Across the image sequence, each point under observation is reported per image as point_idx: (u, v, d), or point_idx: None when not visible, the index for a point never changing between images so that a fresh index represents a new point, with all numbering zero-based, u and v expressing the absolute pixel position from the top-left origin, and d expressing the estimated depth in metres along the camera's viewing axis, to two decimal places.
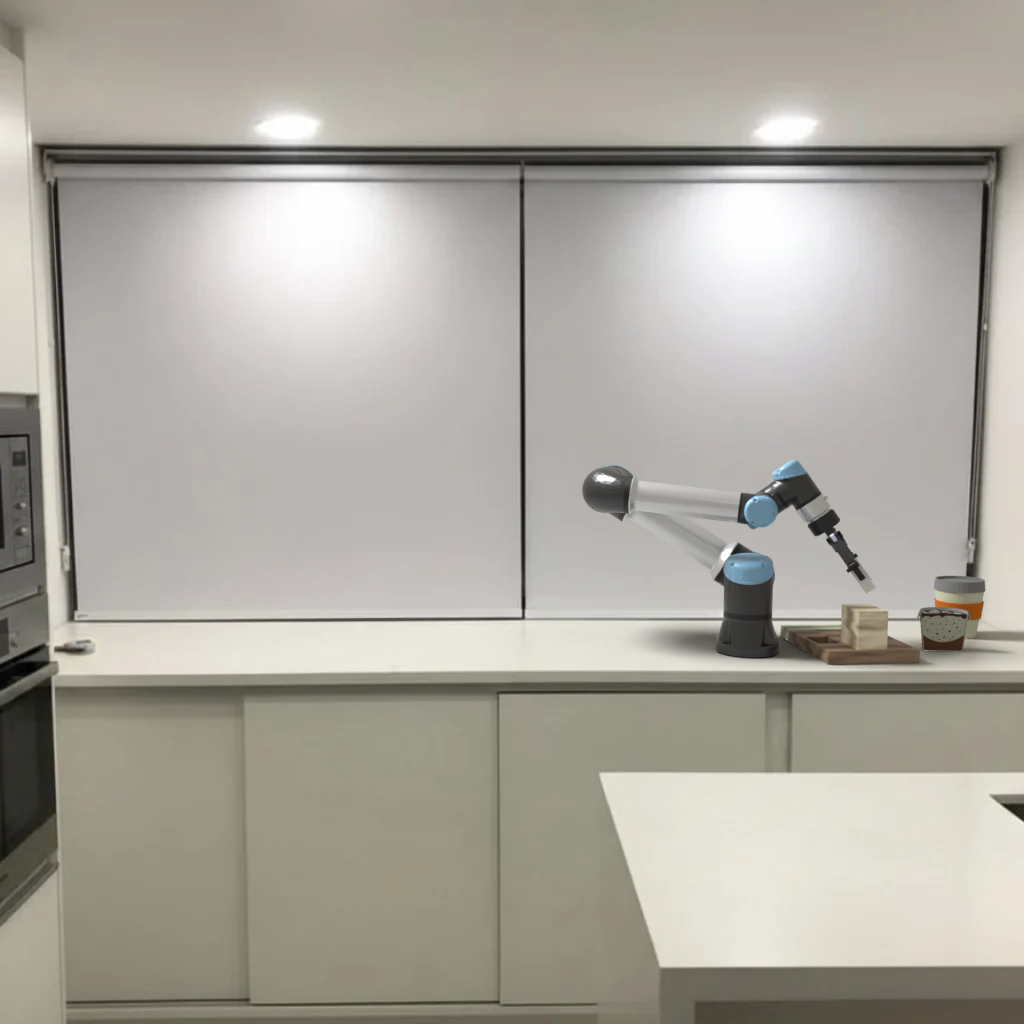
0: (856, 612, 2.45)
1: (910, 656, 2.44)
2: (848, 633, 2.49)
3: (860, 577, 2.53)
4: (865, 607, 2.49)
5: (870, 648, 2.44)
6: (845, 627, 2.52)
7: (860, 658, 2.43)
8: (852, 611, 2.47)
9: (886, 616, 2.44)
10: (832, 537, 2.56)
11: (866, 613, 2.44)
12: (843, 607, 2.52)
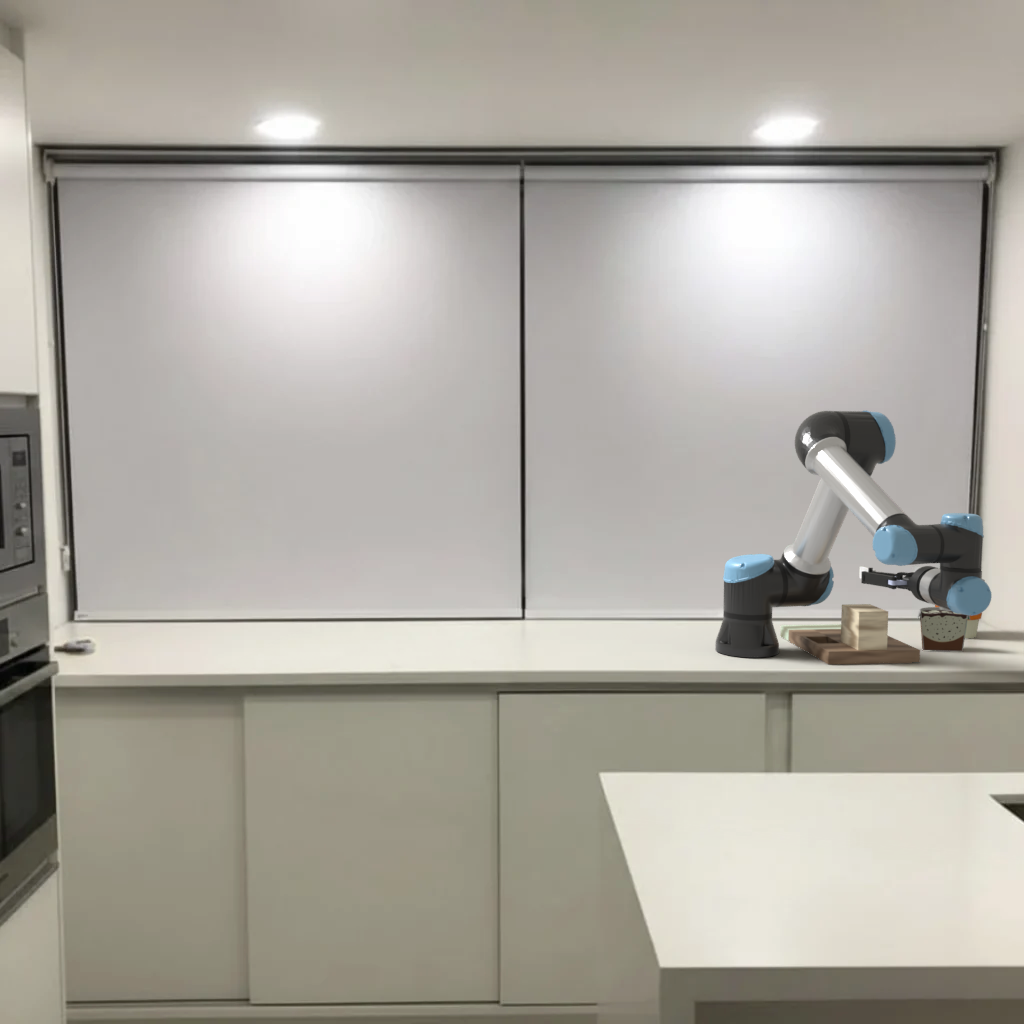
0: (856, 612, 2.45)
1: (910, 656, 2.44)
2: (848, 633, 2.49)
3: None
4: (865, 607, 2.49)
5: (870, 648, 2.44)
6: (845, 627, 2.52)
7: (860, 658, 2.43)
8: (852, 611, 2.47)
9: (886, 616, 2.44)
10: (890, 581, 2.20)
11: (866, 613, 2.44)
12: (843, 607, 2.52)
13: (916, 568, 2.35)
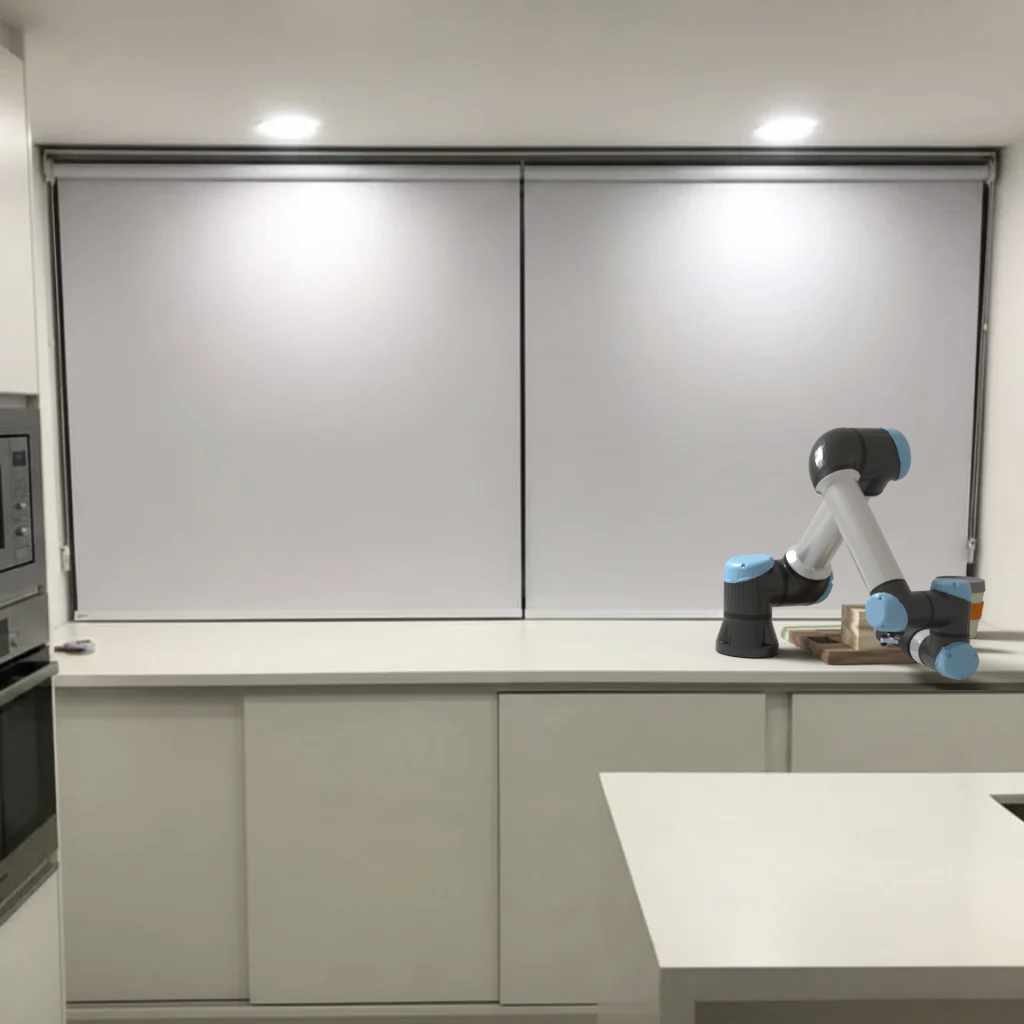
0: (856, 612, 2.45)
1: None
2: (848, 633, 2.49)
3: None
4: None
5: (870, 648, 2.44)
6: (845, 627, 2.52)
7: (860, 658, 2.43)
8: (852, 611, 2.47)
9: None
10: None
11: None
12: (843, 607, 2.52)
13: None
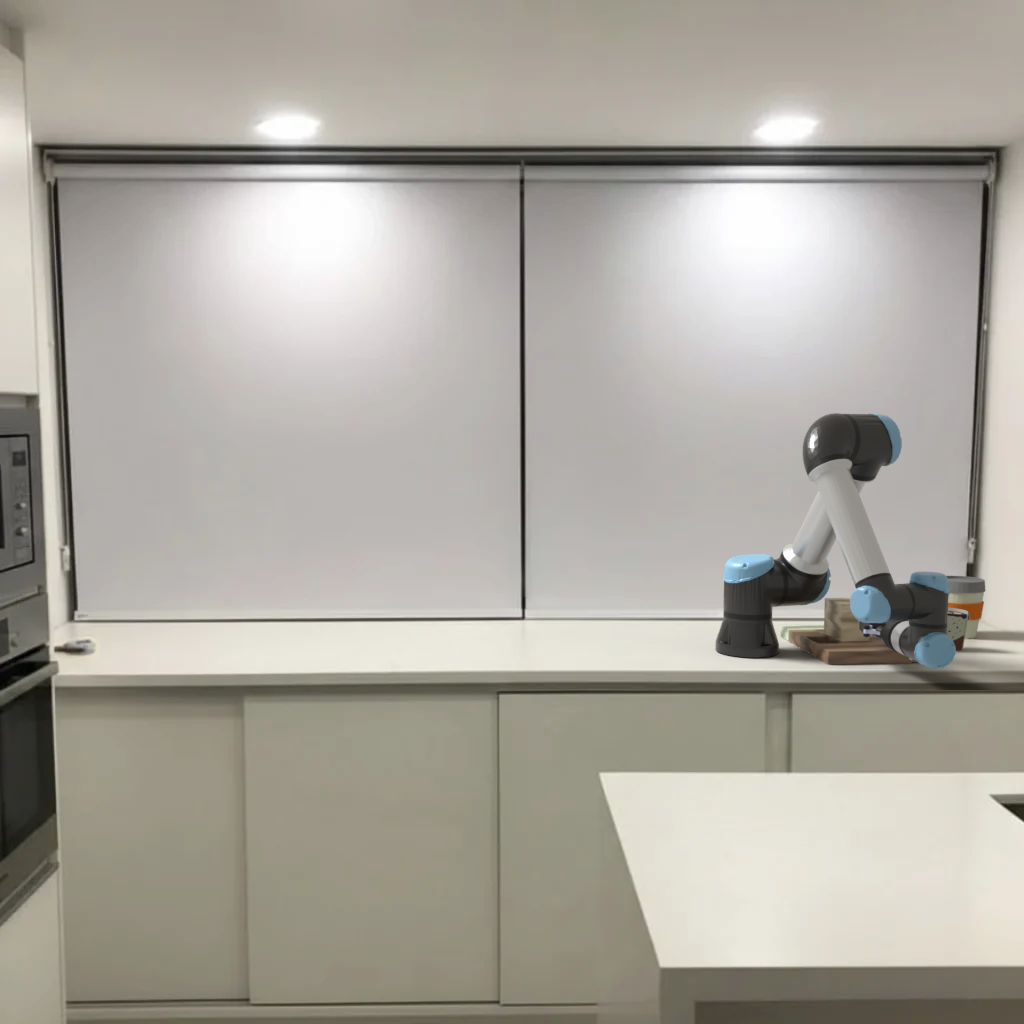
0: (840, 605, 2.54)
1: None
2: (832, 626, 2.59)
3: None
4: (847, 600, 2.59)
5: (853, 639, 2.54)
6: (828, 619, 2.61)
7: (860, 658, 2.43)
8: (836, 604, 2.56)
9: None
10: None
11: (849, 606, 2.53)
12: (826, 600, 2.62)
13: None
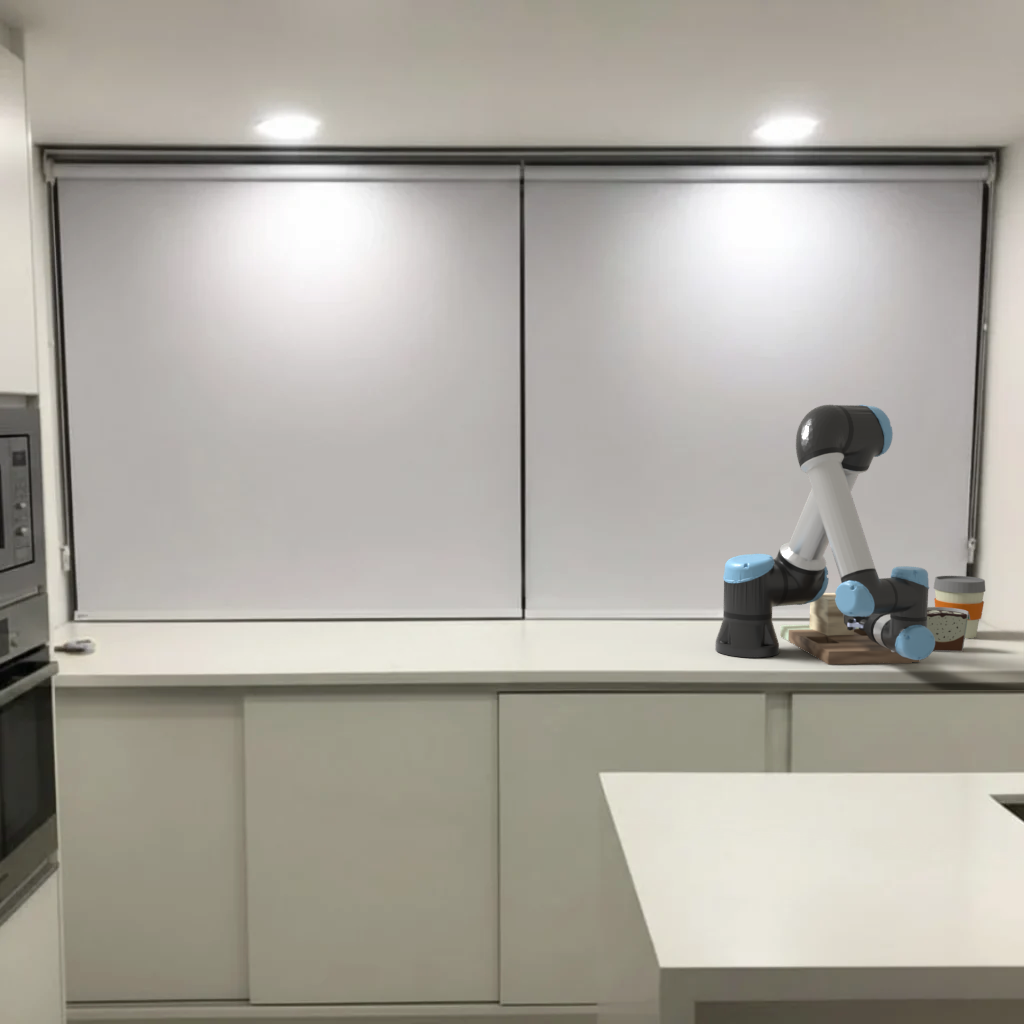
0: (825, 600, 2.62)
1: None
2: (817, 620, 2.66)
3: None
4: (832, 595, 2.66)
5: (838, 633, 2.62)
6: (813, 614, 2.68)
7: (860, 658, 2.43)
8: (822, 599, 2.64)
9: None
10: None
11: None
12: None
13: None
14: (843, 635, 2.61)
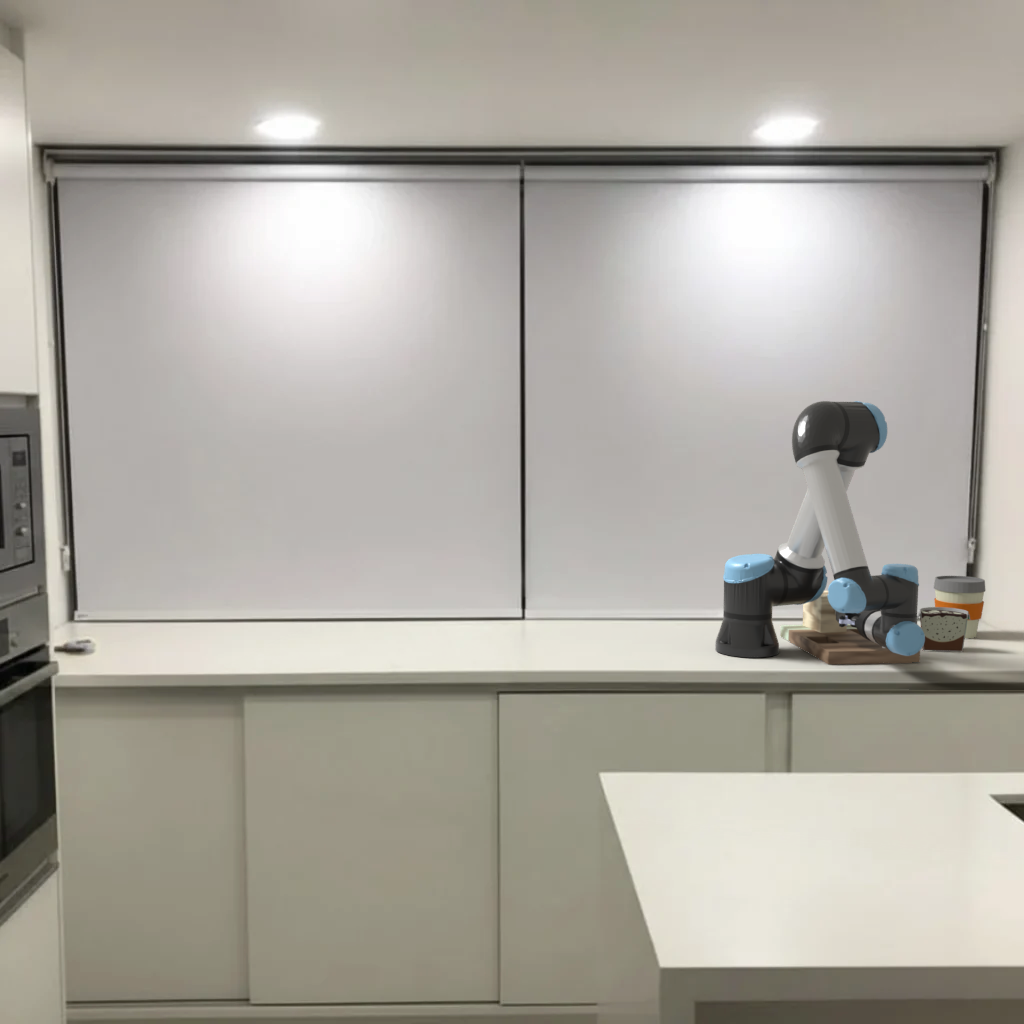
0: (818, 598, 2.65)
1: (910, 656, 2.44)
2: (811, 618, 2.70)
3: None
4: (825, 593, 2.70)
5: (831, 631, 2.65)
6: (807, 612, 2.72)
7: (860, 658, 2.43)
8: None
9: None
10: None
11: None
12: None
13: None
14: (843, 635, 2.61)
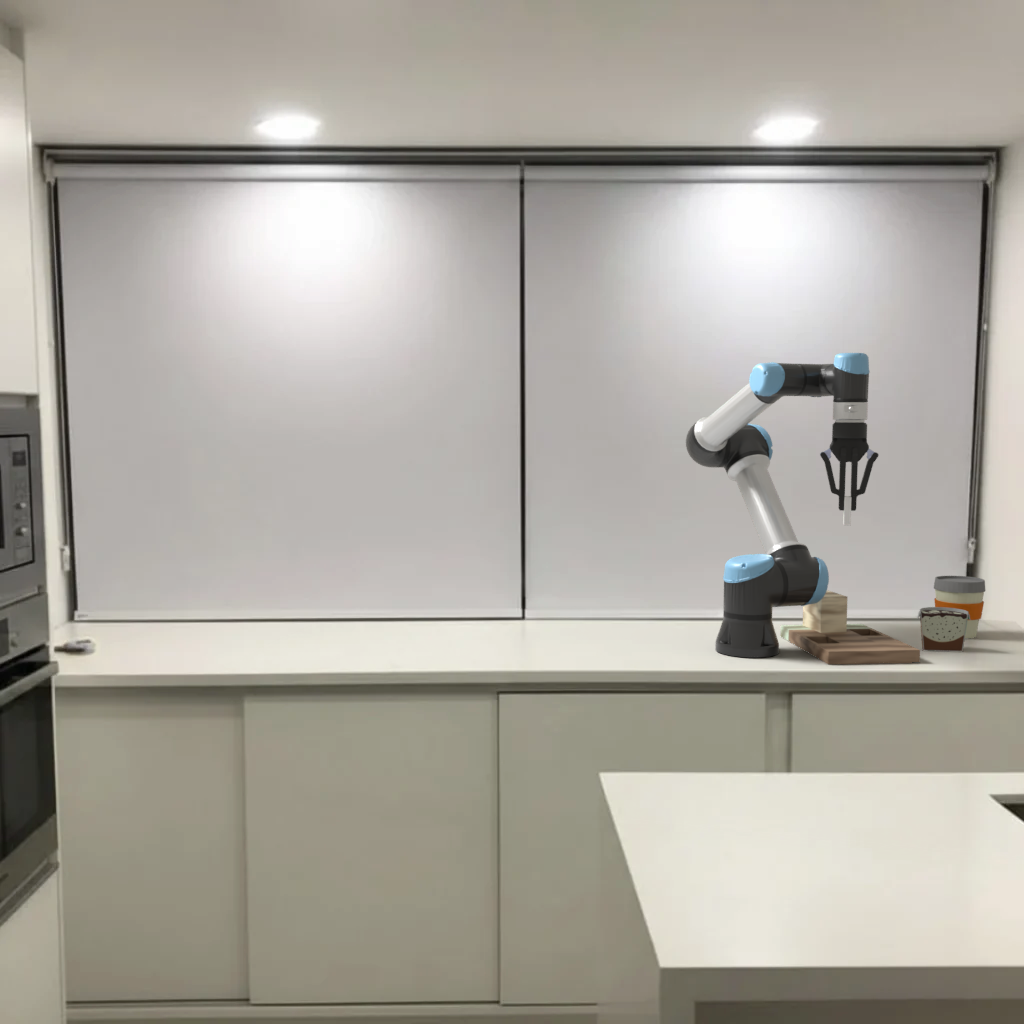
0: None
1: (910, 656, 2.44)
2: (811, 618, 2.70)
3: (839, 506, 2.41)
4: (825, 593, 2.70)
5: (831, 631, 2.65)
6: (807, 612, 2.72)
7: (860, 658, 2.43)
8: None
9: (845, 600, 2.65)
10: None
11: (828, 598, 2.64)
12: None
13: None
14: (843, 635, 2.61)
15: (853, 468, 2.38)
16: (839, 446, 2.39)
